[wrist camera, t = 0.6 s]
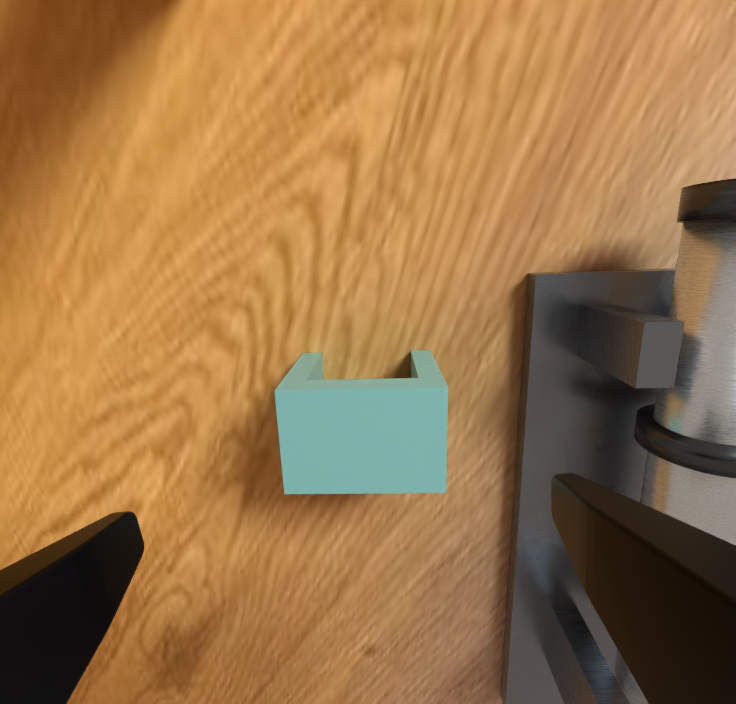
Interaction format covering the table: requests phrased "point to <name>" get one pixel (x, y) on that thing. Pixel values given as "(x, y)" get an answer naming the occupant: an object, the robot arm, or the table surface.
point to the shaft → (696, 383)
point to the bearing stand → (577, 463)
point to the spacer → (363, 430)
